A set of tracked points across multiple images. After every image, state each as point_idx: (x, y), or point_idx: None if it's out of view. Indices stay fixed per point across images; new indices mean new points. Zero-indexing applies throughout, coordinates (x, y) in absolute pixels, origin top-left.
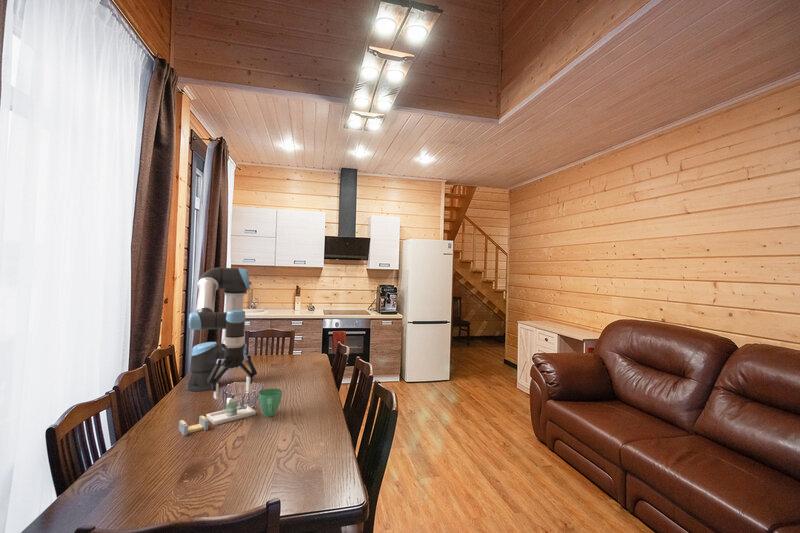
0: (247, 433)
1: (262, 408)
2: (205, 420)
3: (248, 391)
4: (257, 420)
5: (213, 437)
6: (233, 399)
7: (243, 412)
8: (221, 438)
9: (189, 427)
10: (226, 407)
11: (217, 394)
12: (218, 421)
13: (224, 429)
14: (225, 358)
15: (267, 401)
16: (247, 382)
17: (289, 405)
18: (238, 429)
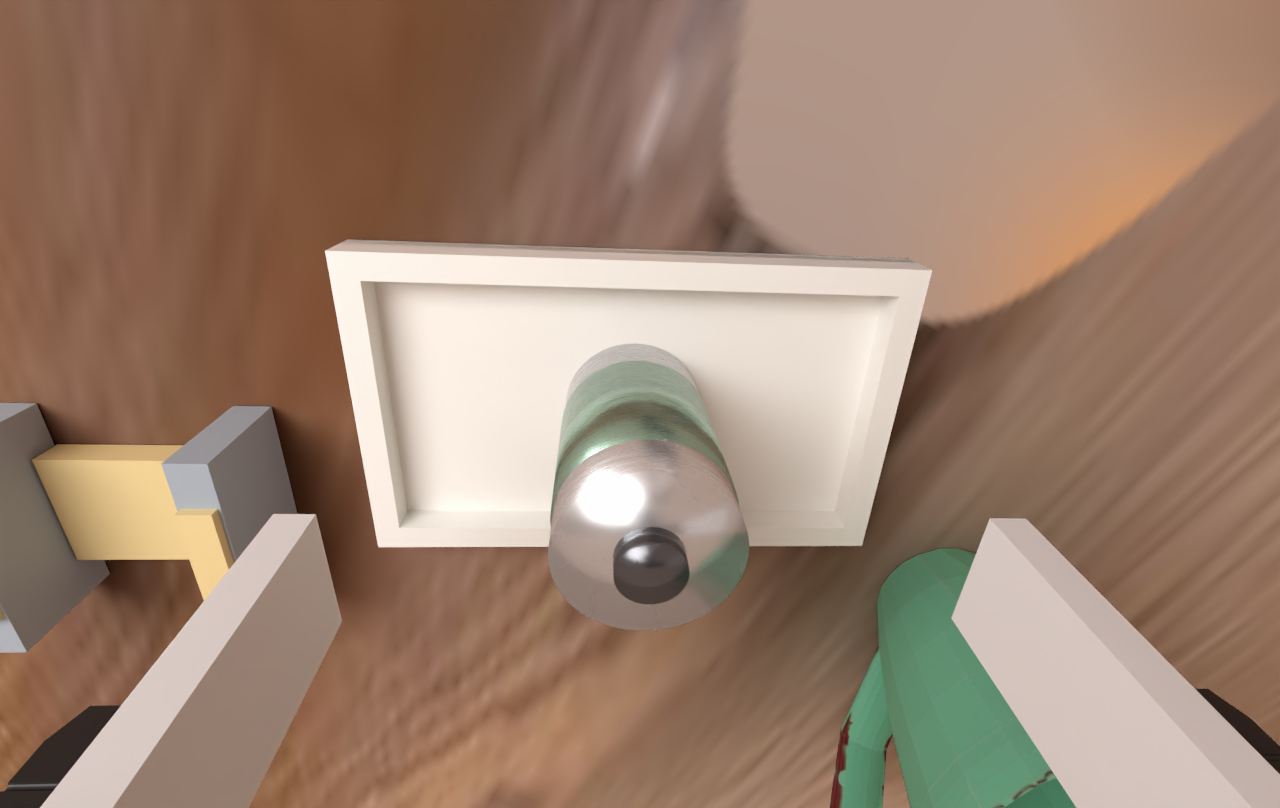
0: (576, 784)
1: (885, 676)
2: None
3: (963, 632)
4: (769, 640)
5: (330, 721)
6: (630, 621)
7: (775, 424)
8: (383, 761)
9: (102, 492)
10: (556, 464)
11: (286, 708)
12: (425, 537)
13: (451, 645)
14: None
15: None
16: (1117, 766)
17: (1251, 504)
18: (551, 702)
